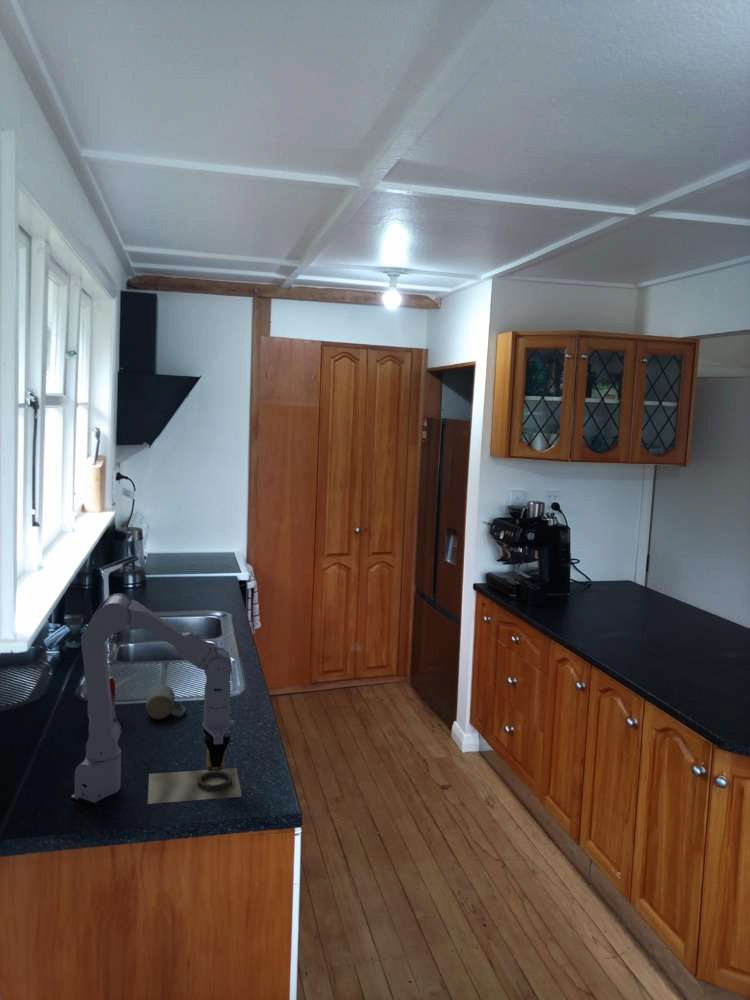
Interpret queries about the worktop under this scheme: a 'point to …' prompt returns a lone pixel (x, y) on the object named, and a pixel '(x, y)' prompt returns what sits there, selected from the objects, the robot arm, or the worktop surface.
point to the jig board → (193, 786)
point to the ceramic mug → (162, 702)
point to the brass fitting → (208, 764)
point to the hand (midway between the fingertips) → (215, 761)
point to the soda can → (112, 687)
